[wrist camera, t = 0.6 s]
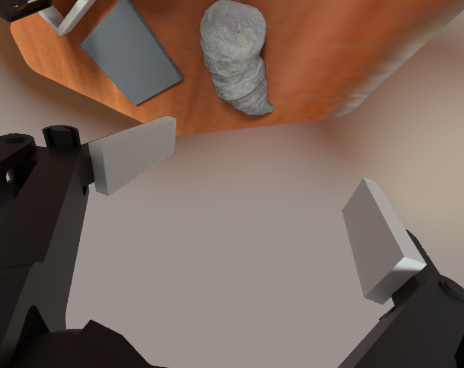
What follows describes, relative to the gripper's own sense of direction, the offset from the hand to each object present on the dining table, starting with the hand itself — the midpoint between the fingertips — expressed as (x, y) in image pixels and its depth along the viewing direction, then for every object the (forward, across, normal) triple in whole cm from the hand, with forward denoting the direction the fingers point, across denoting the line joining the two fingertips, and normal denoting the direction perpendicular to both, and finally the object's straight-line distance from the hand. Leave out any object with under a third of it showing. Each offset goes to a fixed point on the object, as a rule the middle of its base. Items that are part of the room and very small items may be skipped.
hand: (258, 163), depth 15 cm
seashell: (+30, -9, +6) cm, 32 cm away
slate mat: (+30, -34, 0) cm, 45 cm away
